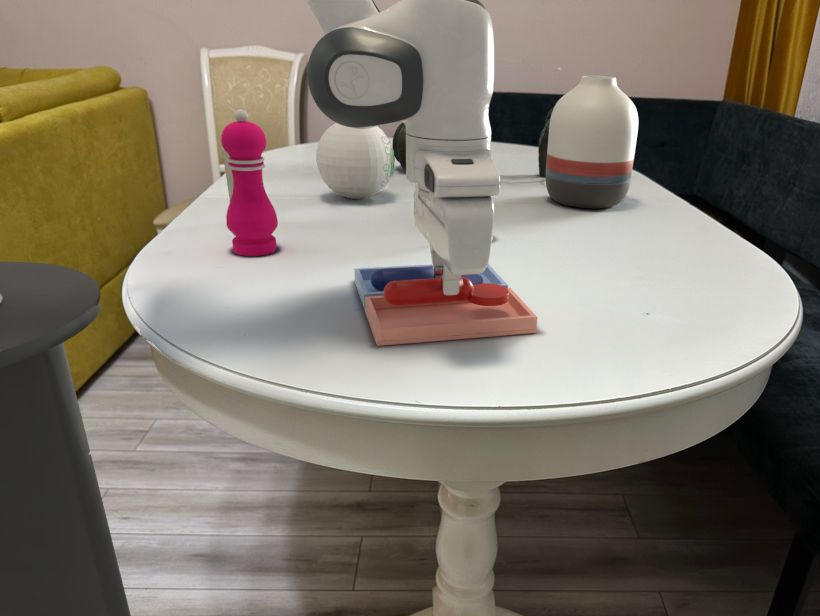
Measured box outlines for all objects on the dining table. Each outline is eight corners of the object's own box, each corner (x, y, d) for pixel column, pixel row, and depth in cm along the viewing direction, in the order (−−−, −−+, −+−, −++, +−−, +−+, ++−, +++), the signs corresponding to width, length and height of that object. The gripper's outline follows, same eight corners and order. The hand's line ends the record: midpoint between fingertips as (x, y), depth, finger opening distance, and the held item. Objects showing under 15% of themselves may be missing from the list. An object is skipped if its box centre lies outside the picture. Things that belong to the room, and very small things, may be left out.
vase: (616, 216, 127) (634, 81, 117) (531, 205, 133) (541, 76, 123) (635, 199, 141) (652, 77, 131) (557, 189, 147) (568, 72, 137)
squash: (371, 147, 156) (412, 98, 148) (397, 141, 169) (436, 96, 162) (413, 193, 156) (456, 147, 149) (436, 184, 170) (476, 141, 162)
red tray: (376, 346, 72) (376, 329, 71) (365, 312, 81) (364, 296, 80) (536, 333, 77) (537, 316, 76) (509, 302, 85) (510, 287, 84)
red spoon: (387, 314, 74) (386, 289, 72) (380, 297, 78) (379, 274, 77) (514, 304, 77) (516, 281, 76) (501, 289, 82) (502, 267, 80)
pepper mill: (269, 240, 106) (256, 105, 97) (287, 252, 100) (276, 111, 92) (223, 247, 102) (205, 107, 93) (239, 260, 96) (222, 113, 88)
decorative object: (388, 209, 126) (386, 125, 120) (309, 205, 127) (303, 121, 121) (400, 191, 140) (399, 115, 133) (329, 188, 141) (325, 112, 134)
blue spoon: (373, 297, 84) (373, 276, 82) (368, 284, 88) (367, 263, 87) (487, 290, 87) (488, 270, 86) (476, 277, 92) (477, 258, 90)
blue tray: (364, 309, 81) (363, 294, 80) (354, 282, 90) (354, 268, 89) (507, 299, 86) (508, 285, 85) (485, 275, 94) (486, 261, 93)
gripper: (400, 147, 79) (402, 260, 85) (440, 183, 61) (438, 323, 67) (453, 146, 81) (450, 257, 87) (506, 181, 63) (498, 318, 69)
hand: (445, 286), depth 77 cm, fingers closed on red spoon, 3 cm apart
